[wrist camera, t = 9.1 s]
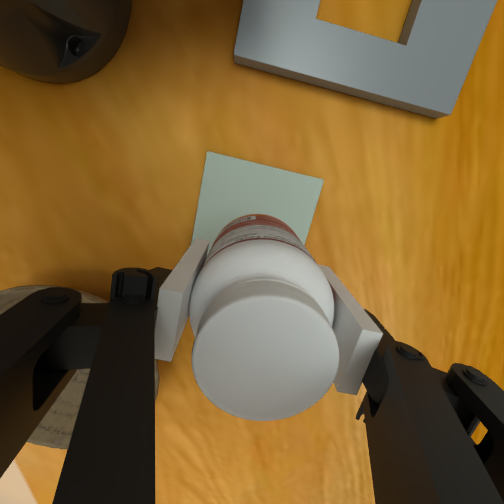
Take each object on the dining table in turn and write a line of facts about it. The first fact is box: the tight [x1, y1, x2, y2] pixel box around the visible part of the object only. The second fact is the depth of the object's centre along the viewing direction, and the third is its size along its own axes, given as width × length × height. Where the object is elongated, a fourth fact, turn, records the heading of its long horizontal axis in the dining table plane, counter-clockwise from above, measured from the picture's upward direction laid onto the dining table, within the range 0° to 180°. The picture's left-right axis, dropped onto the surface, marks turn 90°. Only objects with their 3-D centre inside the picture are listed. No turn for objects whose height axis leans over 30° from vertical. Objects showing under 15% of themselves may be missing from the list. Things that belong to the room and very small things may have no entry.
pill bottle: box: [189, 214, 339, 421], centre depth 14 cm, size 6×6×11 cm
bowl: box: [0, 285, 159, 449], centre depth 29 cm, size 18×18×8 cm
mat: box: [191, 151, 324, 258], centre depth 29 cm, size 12×12×1 cm
